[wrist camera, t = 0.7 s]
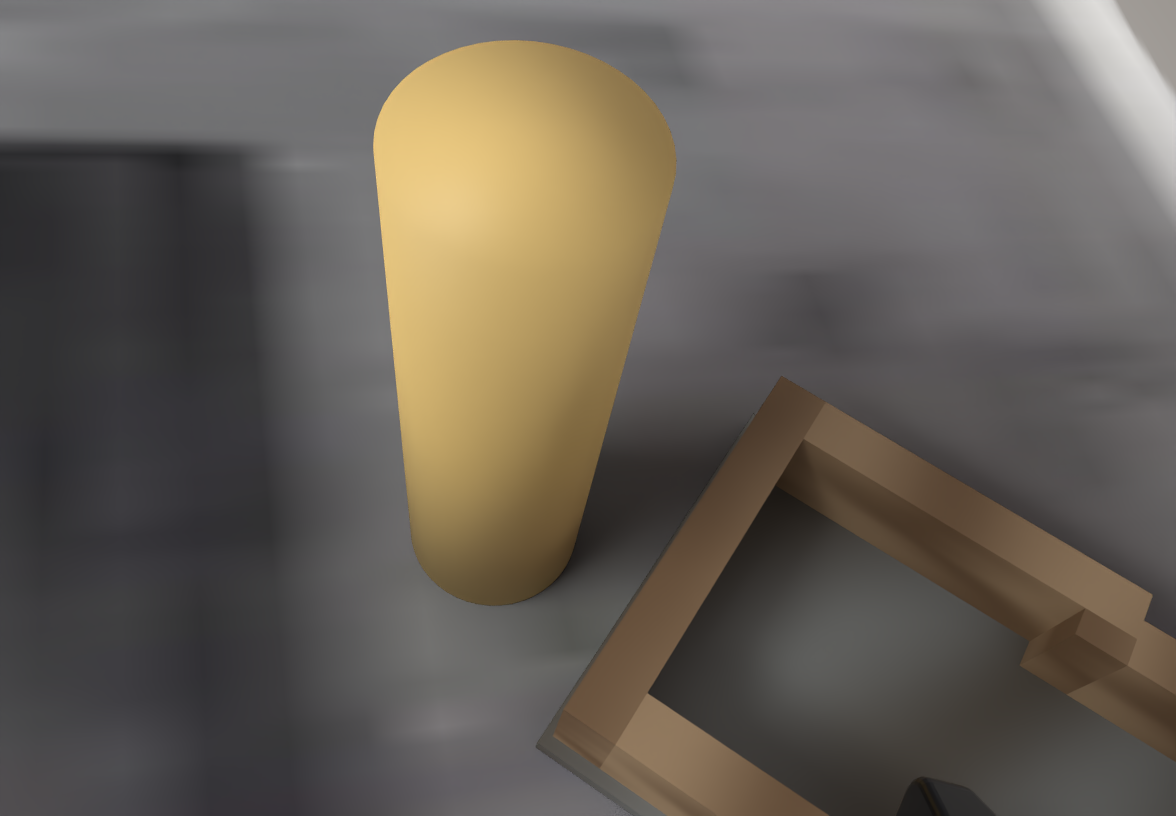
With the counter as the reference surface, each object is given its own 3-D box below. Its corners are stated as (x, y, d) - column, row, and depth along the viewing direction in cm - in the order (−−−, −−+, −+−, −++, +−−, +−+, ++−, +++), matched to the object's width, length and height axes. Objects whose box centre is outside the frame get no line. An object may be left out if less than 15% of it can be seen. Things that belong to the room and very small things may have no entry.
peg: (549, 627, 24) (634, 307, 12) (385, 576, 24) (324, 214, 13) (595, 479, 26) (705, 87, 14) (444, 432, 26) (436, 9, 15)
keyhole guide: (1348, 784, 24) (1456, 760, 21) (1245, 1244, 19) (1368, 1286, 17) (748, 422, 27) (779, 362, 24) (535, 747, 22) (546, 716, 20)
